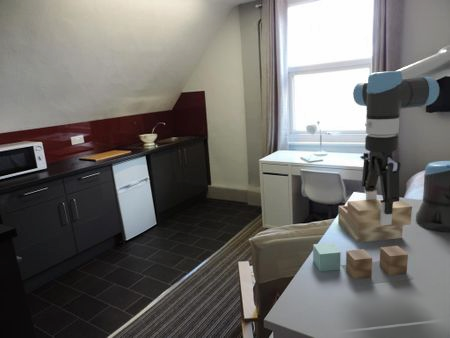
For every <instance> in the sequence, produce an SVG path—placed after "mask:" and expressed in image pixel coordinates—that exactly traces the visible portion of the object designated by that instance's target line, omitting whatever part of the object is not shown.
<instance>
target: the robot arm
mask: <svg viewBox="0 0 450 338" xmlns="http://www.w3.org/2000/svg"><path fill="white" fill-rule="evenodd" d="M444 77H450V44H448V45H447V46H444V47H443V48H442V47H441V49H439V50H438V52H437V53H435V54H433V55H430V56H428V57H426V58H423V59H421V60H418V61H416V62H414V63H411V64H409V65H406V66H404V67H402V68H400V69H397V70H393V71H380V72H379V71H378V72H372V73H370V74H369V75H368V77H367V78H368V79H367V80H363V81H359V82H358V83H357V84H356V85H355V86H354V89H353V91H352V95H353V96H352V97H353V100H354V102H355V103H356V104H357V105H359V106H363V107H366V115H365V116H366V117H365V118H366V121H365V123H364V126H365V133H366V134H367V135H366V136H365V139H364V140H365V141H364V144H365V145H364V147H365V148H364V149H365V150H366V151H367V152H364V153H363V155H362V156H363V166H362V167H363V168H362V175H361V176H362V178H361V186H362V187H364V190H365V200H372V199H378V192H377V191H378V187H377V184H378V181H379V182H380V188H381V193H382V194H381V195H382V199H383V200H380V201H381V209H380V225H391V223H392V211H393V202H398V201H399V199H400V170H401V169H400V168H401V163H400V162H399V161H397V162H396V161H394V156H393V153H394V152H395V151H397V150H398V148H399V147H398V146H399V136H398V135H397V134H399V131H400V117H401V116H400V115H401V114H400V112H401V109H411V108H422V107H426V106H429V105H432V104H434V103H435V102H436V100H437V99H438V97H439V95H440V86H439V83H438V80H440V79H442V78H444ZM423 179H424V181H423V191H422V193H423V194H422V202H421V203H420V206H419V208H418V211H417V212H416V214H415V222H416V223H417V224H418V225H419V226H421V227H423V228H425V229H429V230H433V231H437V232H446V233H447V232H448V233H450V160H441V161H433V162H429V163H427V164H426V167H425V170H424V177H423Z"/></svg>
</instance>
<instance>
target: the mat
mask: <svg viewBox="0 0 450 338" xmlns="http://www.w3.org/2000/svg"><path fill="white" fill-rule="evenodd" d="M340 267H341V269H343V270H344V271H345V272H346V274H347V275H348V277H349V278H350V279H351V281H352V282H353V283H354V285H355V286H359V285H360V286H361V285H362V286H363V285H370V284H378V283H379V284H380V283H387V282H389V283H390V282H396V281H397V282H398V281H408V280H414V279H415V278H414V277H412V275H410V273H408V272H407V274H401V275H391V276H389V275H388V274H387V273H386V272H385V271H384V270H383V269H382V268H381V267H380V260H379V261H378V260H377V261H376V260H375V261H372V277H371V278H363V279H353V278H352V277H351V275H350V274H349V273H348V271H347V270H346V264H340Z"/></svg>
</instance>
